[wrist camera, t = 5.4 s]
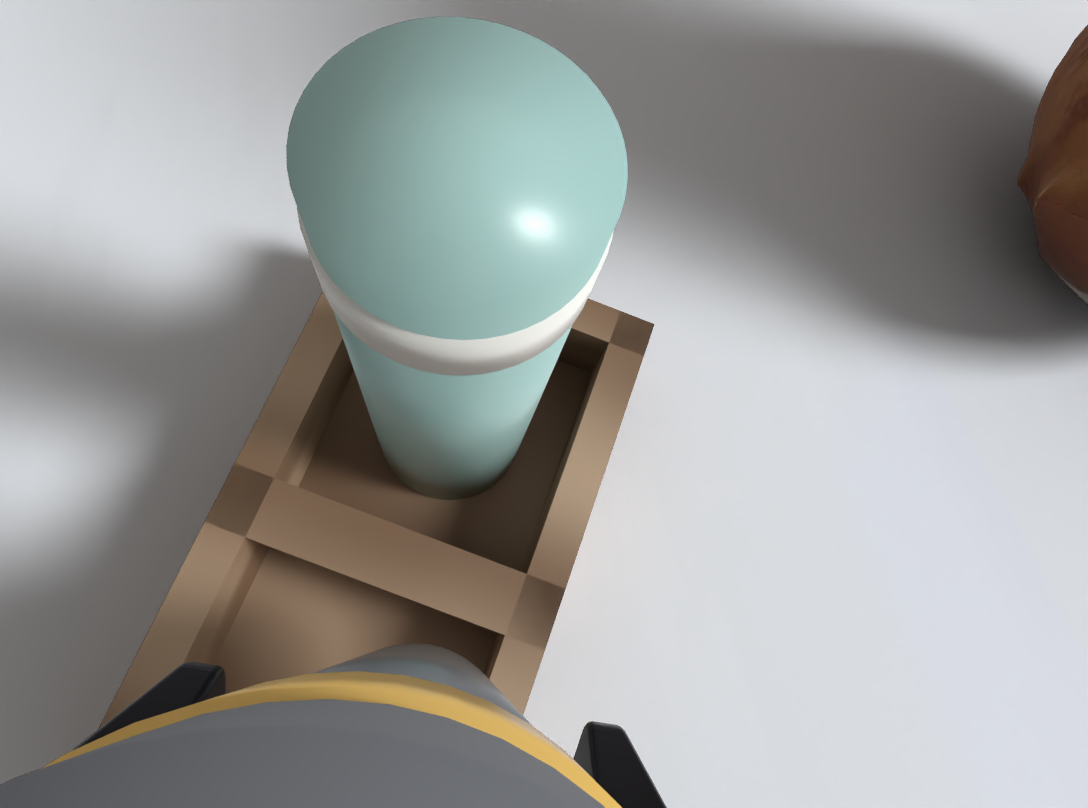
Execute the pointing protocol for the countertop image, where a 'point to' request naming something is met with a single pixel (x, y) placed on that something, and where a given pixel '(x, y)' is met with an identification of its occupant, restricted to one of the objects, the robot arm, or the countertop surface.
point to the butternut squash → (1062, 169)
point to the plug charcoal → (327, 747)
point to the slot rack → (390, 529)
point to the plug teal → (454, 231)
